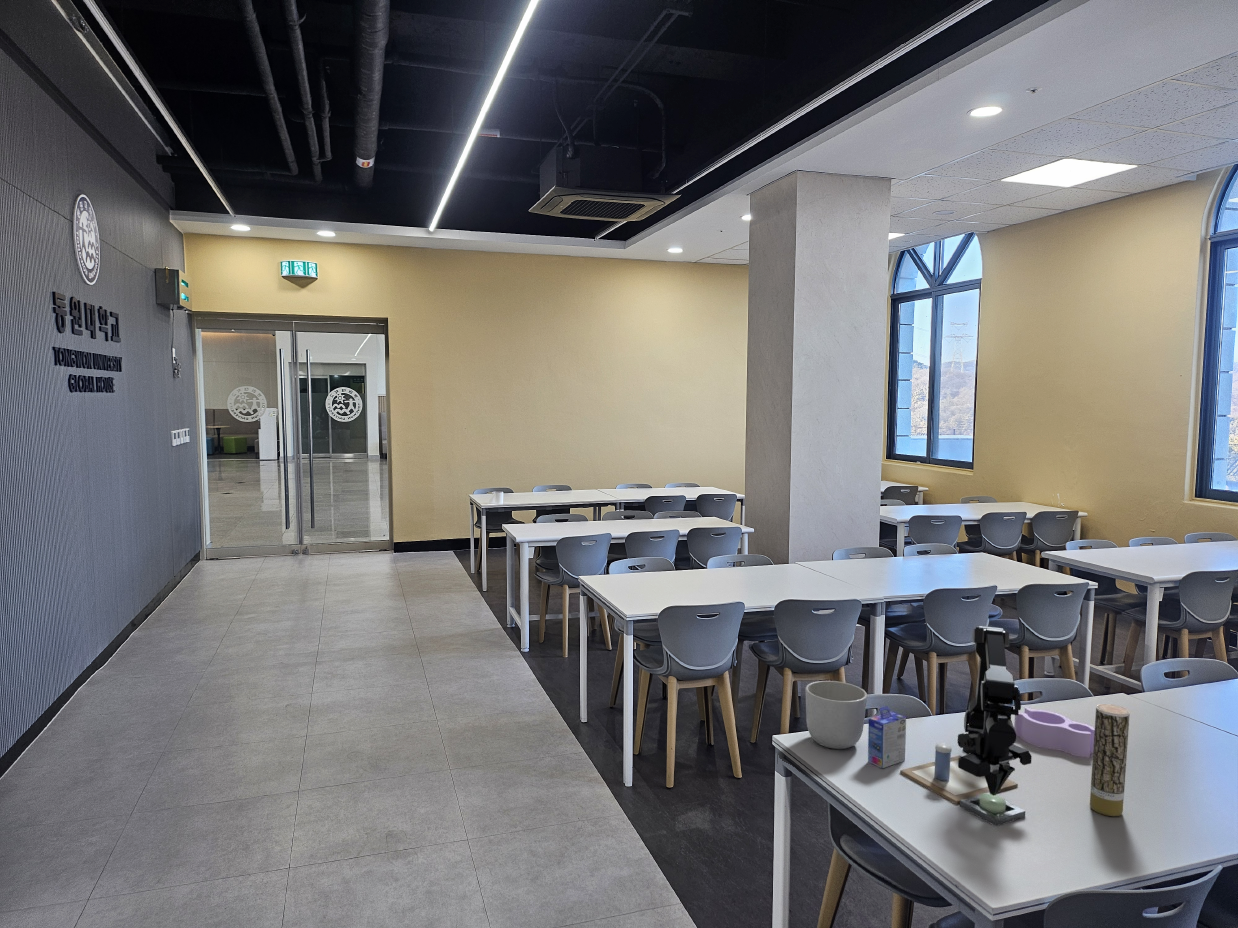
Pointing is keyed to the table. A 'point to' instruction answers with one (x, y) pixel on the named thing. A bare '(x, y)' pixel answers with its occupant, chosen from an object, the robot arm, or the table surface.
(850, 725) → the planter
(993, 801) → the button
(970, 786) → the clipboard
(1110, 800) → the paper tube
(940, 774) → the blue cylinder
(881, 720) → the ink cartridge box
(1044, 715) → the clip
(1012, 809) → the button bezel
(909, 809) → the table surface
